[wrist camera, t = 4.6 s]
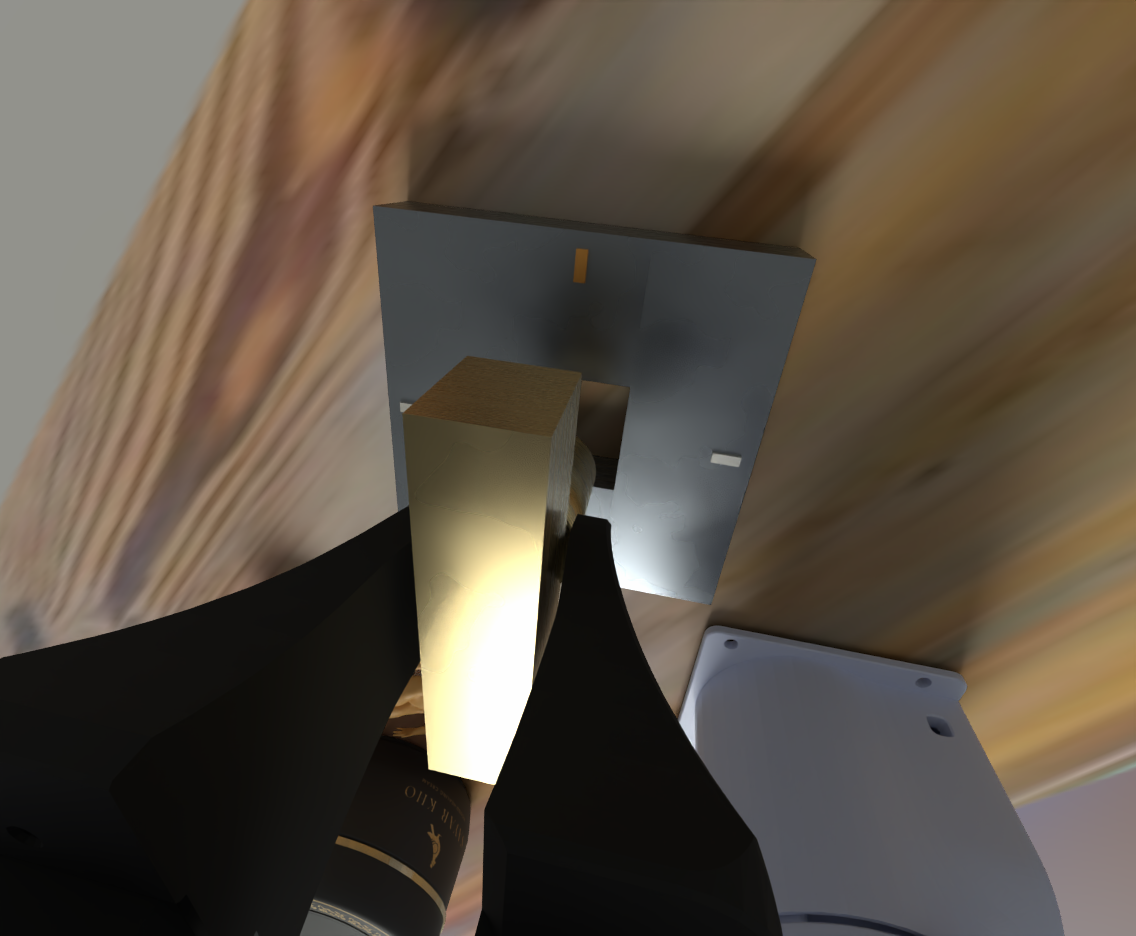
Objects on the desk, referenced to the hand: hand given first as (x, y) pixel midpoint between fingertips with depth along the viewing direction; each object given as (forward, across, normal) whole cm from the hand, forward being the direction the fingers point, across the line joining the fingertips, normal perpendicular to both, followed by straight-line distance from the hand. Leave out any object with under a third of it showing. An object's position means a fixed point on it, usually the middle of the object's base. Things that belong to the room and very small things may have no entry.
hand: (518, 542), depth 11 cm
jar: (+8, +8, +25) cm, 27 cm away
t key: (+3, 0, 0) cm, 3 cm away
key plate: (+7, 0, 0) cm, 7 cm away
